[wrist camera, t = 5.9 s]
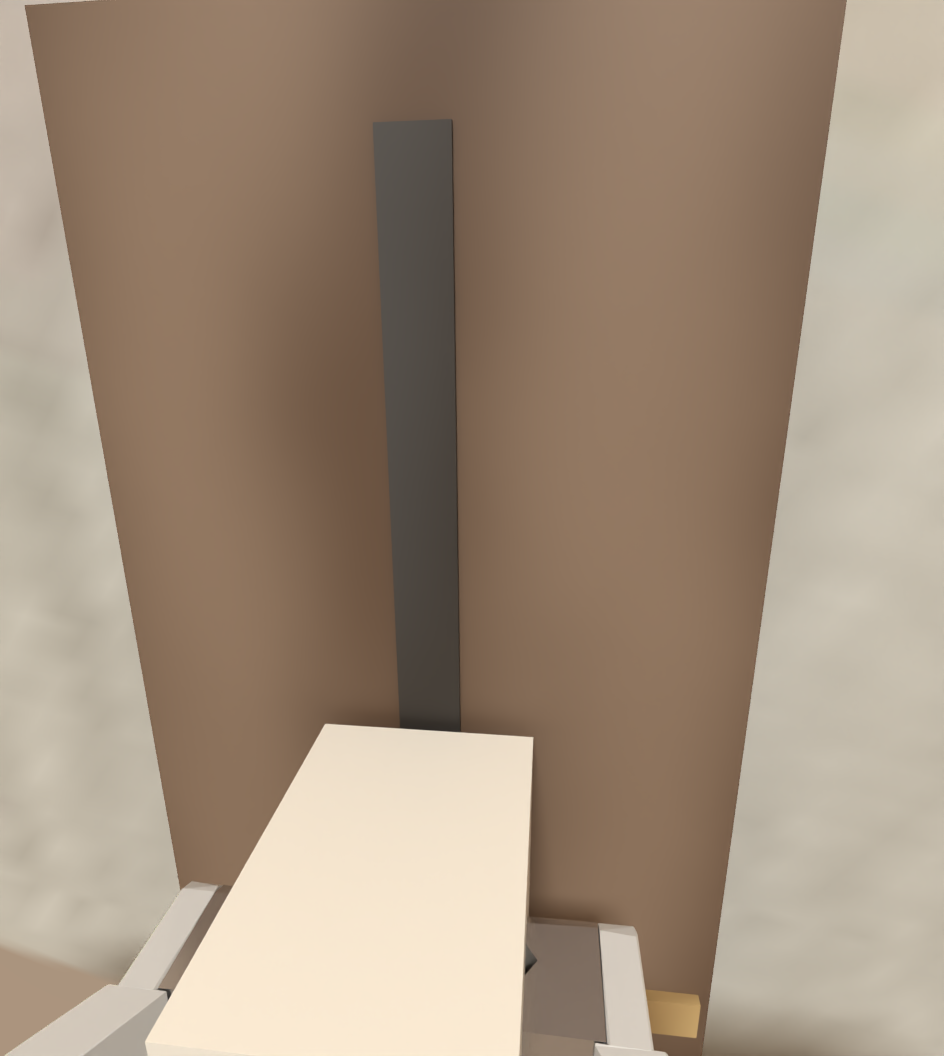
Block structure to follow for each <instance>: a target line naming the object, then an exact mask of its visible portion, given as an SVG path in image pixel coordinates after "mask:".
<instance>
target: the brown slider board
mask: <svg viewBox="0 0 944 1056" xmlns="http://www.w3.org/2000/svg"><path fill="white" fill-rule="evenodd" d="M846 2H847V0H98V1H83V2H68V3H53V4H38V5H25V10H26V15H27V21H28V27H29V32H30V38H31V44H32V49H33V55H34V61H35V66H36V72H37V78H38V83H39V89H40V95H41V101H42V106H43V112H44V118H45V123H46V129H47V135H48V140H49V146H50V152H51V157H52V163H53V169H54V174H55V180H56V186H57V191H58V197H59V203H60V208H61V214H62V220H63V225H64V231H65V237H66V243H67V248H68V254H69V260H70V265H71V271H72V277H73V282H74V288H75V294H76V299H77V305H78V311H79V316H80V322H81V328H82V333H83V339H84V345H85V350H86V356H87V362H88V367H89V373H90V379H91V385H92V390H93V396H94V402H95V407H96V413H97V419H98V424H99V430H100V436H101V441H102V447H103V453H104V458H105V464H106V470H107V475H108V481H109V487H110V492H111V498H112V504H113V509H114V515H115V521H116V527H117V532H118V538H119V544H120V549H121V555H122V561H123V566H124V572H125V578H126V583H127V589H128V595H129V600H130V606H131V612H132V617H133V623H134V629H135V634H136V640H137V646H138V651H139V657H140V663H141V669H142V674H143V680H144V686H145V691H146V697H147V703H148V708H149V714H150V720H151V725H152V731H153V737H154V742H155V748H156V754H157V759H158V765H159V771H160V776H161V782H162V788H163V793H164V799H165V805H166V811H167V816H168V822H169V828H170V833H171V839H172V845H173V850H174V856H175V862H176V867H177V873H178V879H179V884H180V890H182V889H183V888H184V887H185V886H186V885H188V884H189V883H190V882H191V881H194V882H202V883H210V884H218V885H229V886H233V885H234V884H235V882H236V880H237V878H238V877H239V875H240V873H241V871H242V870H243V868H244V866H245V864H246V863H247V861H248V859H249V857H250V855H251V854H252V852H253V850H254V848H255V847H256V845H257V843H258V841H259V840H260V838H261V836H262V834H263V833H264V831H265V829H266V827H267V826H268V824H269V822H270V820H271V818H272V817H273V815H274V813H275V811H276V810H277V808H278V806H279V804H280V803H281V801H282V799H283V797H284V796H285V794H286V792H287V790H288V788H289V787H290V785H291V783H292V781H293V780H294V778H295V776H296V774H297V773H298V771H299V769H300V767H301V766H302V764H303V762H304V760H305V759H306V757H307V755H308V753H309V751H310V750H311V748H312V746H313V744H314V743H315V741H316V739H317V737H318V736H319V734H320V732H321V730H322V729H323V727H324V725H325V724H337V725H352V726H368V727H383V728H399V729H414V730H430V731H446V732H461V733H477V734H492V735H508V736H524V737H533V769H532V808H531V848H530V887H529V917H541V918H552V919H563V920H575V921H586V922H596V924H598V923H603V924H613V925H623V926H633V927H634V928H635V930H636V932H637V934H638V941H639V948H640V956H641V963H642V970H643V977H644V984H645V991H646V998H647V1005H648V1012H649V1019H650V1026H651V1034H652V1041H653V1048H654V1050H656V1051H662V1052H666V1053H667V1054H668V1056H701V1055H702V1048H703V1041H704V1034H705V1026H706V1019H707V1012H708V1004H709V997H710V990H711V983H712V975H713V968H714V961H715V954H716V946H717V939H718V932H719V925H720V917H721V910H722V903H723V895H724V888H725V881H726V874H727V866H728V859H729V852H730V845H731V837H732V830H733V823H734V815H735V808H736V801H737V794H738V786H739V779H740V772H741V765H742V757H743V750H744V743H745V736H746V728H747V721H748V714H749V706H750V699H751V692H752V685H753V677H754V670H755V663H756V656H757V648H758V641H759V634H760V627H761V619H762V612H763V605H764V597H765V590H766V583H767V576H768V568H769V561H770V554H771V547H772V539H773V532H774V525H775V518H776V510H777V503H778V496H779V488H780V481H781V474H782V467H783V459H784V452H785V445H786V438H787V430H788V423H789V416H790V409H791V401H792V394H793V387H794V379H795V372H796V365H797V358H798V350H799V343H800V336H801V329H802V321H803V314H804V307H805V300H806V292H807V285H808V278H809V270H810V263H811V256H812V249H813V241H814V234H815V227H816V220H817V212H818V205H819V198H820V190H821V183H822V176H823V169H824V161H825V154H826V147H827V140H828V132H829V125H830V118H831V111H832V103H833V96H834V89H835V81H836V74H837V67H838V60H839V52H840V45H841V38H842V31H843V23H844V16H845V9H846Z"/></svg>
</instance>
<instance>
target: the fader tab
mask: <svg viewBox="0 0 944 1056" xmlns="http://www.w3.org/2000/svg"><path fill="white" fill-rule="evenodd" d="M532 769H533V737H524V736H508V735H492V734H477V733H461V732H446V731H430V730H414V729H399V728H383V727H368V726H352V725H337V724H325V725H324V727H323V729H322V730H321V732H320V734H319V736H318V737H317V739H316V741H315V743H314V744H313V746H312V748H311V750H310V751H309V753H308V755H307V757H306V759H305V760H304V762H303V764H302V766H301V767H300V769H299V771H298V773H297V774H296V776H295V778H294V780H293V781H292V783H291V785H290V787H289V788H288V790H287V792H286V794H285V796H284V797H283V799H282V801H281V803H280V804H279V806H278V808H277V810H276V811H275V813H274V815H273V817H272V818H271V820H270V822H269V824H268V826H267V827H266V829H265V831H264V833H263V834H262V836H261V838H260V840H259V841H258V843H257V845H256V847H255V848H254V850H253V852H252V854H251V855H250V857H249V859H248V861H247V863H246V864H245V866H244V868H243V870H242V871H241V873H240V875H239V877H238V878H237V880H236V882H235V884H234V885H233V887H232V889H231V891H230V893H229V894H228V896H227V898H226V900H225V901H224V903H223V905H222V907H221V908H220V910H219V912H218V914H217V915H216V917H215V919H214V921H213V922H212V924H211V926H210V928H209V930H208V931H207V933H206V935H205V937H204V938H203V940H202V942H201V944H200V945H199V947H198V949H197V951H196V952H195V954H194V956H193V958H192V960H191V961H190V963H189V965H188V967H187V968H186V970H185V972H184V974H183V975H182V977H181V979H180V981H179V982H178V984H177V986H176V988H175V989H174V991H173V993H172V995H171V997H170V998H169V1000H168V1002H167V1004H166V1005H165V1007H164V1009H163V1011H162V1012H161V1014H160V1016H159V1018H158V1019H157V1021H156V1023H155V1025H154V1026H153V1028H152V1030H151V1032H150V1034H149V1035H148V1037H147V1039H146V1041H145V1045H146V1050H147V1055H148V1056H522V1026H523V1002H524V977H525V960H526V929H527V916H529V887H530V848H531V808H532Z"/></svg>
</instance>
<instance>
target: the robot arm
mask: <svg viewBox="0 0 944 1056" xmlns="http://www.w3.org/2000/svg"><path fill="white" fill-rule="evenodd" d="M232 887H233V886H229V885H218V884H210V883H202V882H194V881H191V882H190V883H189V884H188V885H186V886H185V887H184V888H183V889H182V890H181V891H180V892H179V894H178V895H177V897H176V898H175V900H174V901H173V903H172V904H171V906H170V907H169V909H168V910H167V912H166V913H165V915H164V916H163V918H162V919H161V921H160V922H159V924H158V925H157V927H156V928H155V930H154V931H153V933H152V934H151V936H150V937H149V939H148V940H147V942H146V943H145V945H144V946H143V948H142V949H141V951H140V952H139V954H138V955H137V957H136V958H135V960H134V961H133V963H132V964H131V966H130V967H129V969H128V970H127V972H126V973H125V975H124V976H123V978H122V979H121V981H120V983H119V984H118V985H114V984H107V985H106V986H105V987H103V988H101V989H100V990H98V991H97V992H96V993H94V994H93V995H91V996H90V997H88V998H87V999H85V1000H84V1001H82V1002H81V1003H80V1004H78V1005H77V1006H75V1007H74V1008H73V1009H71V1010H70V1011H68V1012H67V1013H65V1014H64V1015H62V1016H61V1017H59V1018H58V1019H56V1020H55V1021H54V1022H52V1023H51V1024H49V1025H48V1026H46V1027H45V1028H43V1029H42V1030H41V1031H39V1032H38V1033H36V1034H35V1035H33V1036H32V1037H31V1038H29V1039H27V1040H26V1041H24V1042H23V1043H22V1044H20V1045H19V1046H17V1047H16V1048H14V1049H13V1050H11V1051H10V1052H9V1053H7V1054H6V1055H4V1056H148V1055H147V1050H146V1045H145V1041H146V1039H147V1037H148V1035H149V1034H150V1032H151V1030H152V1028H153V1026H154V1025H155V1023H156V1021H157V1019H158V1018H159V1016H160V1014H161V1012H162V1011H163V1009H164V1007H165V1005H166V1004H167V1002H168V1000H169V998H170V997H171V995H172V993H173V991H174V989H175V988H176V986H177V984H178V982H179V981H180V979H181V977H182V975H183V974H184V972H185V970H186V968H187V967H188V965H189V963H190V961H191V960H192V958H193V956H194V954H195V952H196V951H197V949H198V947H199V945H200V944H201V942H202V940H203V938H204V937H205V935H206V933H207V931H208V930H209V928H210V926H211V924H212V922H213V921H214V919H215V917H216V915H217V914H218V912H219V910H220V908H221V907H222V905H223V903H224V901H225V900H226V898H227V896H228V894H229V893H230V891H231V889H232ZM522 1056H668V1054H667V1053H666V1052H662V1051H656V1050H654V1048H653V1041H652V1034H651V1026H650V1019H649V1012H648V1005H647V998H646V991H645V984H644V977H643V970H642V963H641V956H640V948H639V941H638V934H637V932H636V930H635V928H634V927H633V926H623V925H613V924H603V923H598V924H596V922H586V921H575V920H563V919H552V918H541V917H529V916H527V929H526V960H525V977H524V1002H523V1026H522Z"/></svg>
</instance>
